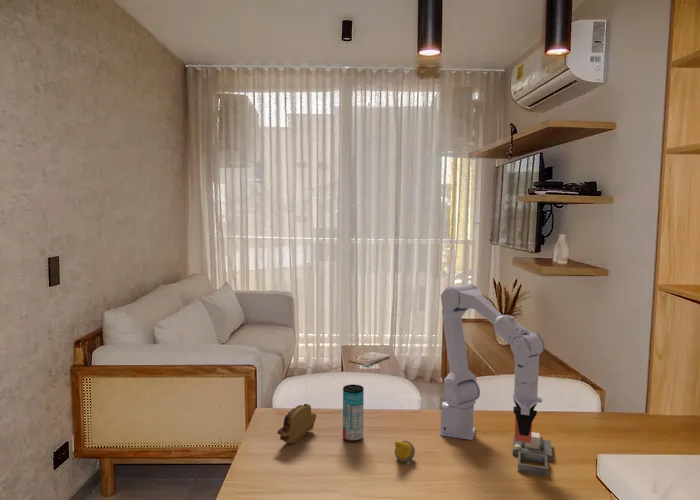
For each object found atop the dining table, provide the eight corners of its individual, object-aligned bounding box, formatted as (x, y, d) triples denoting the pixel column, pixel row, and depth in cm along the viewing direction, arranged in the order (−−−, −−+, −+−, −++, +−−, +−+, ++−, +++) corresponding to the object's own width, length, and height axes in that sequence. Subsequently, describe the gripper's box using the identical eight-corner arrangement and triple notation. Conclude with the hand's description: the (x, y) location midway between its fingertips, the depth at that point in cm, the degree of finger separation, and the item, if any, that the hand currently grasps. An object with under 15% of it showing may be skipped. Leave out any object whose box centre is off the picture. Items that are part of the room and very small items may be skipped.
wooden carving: (304, 426, 157) (304, 394, 156) (317, 429, 155) (317, 397, 154) (274, 450, 142) (273, 415, 141) (288, 453, 140) (288, 418, 139)
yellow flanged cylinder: (420, 462, 137) (406, 448, 130) (402, 468, 138) (387, 455, 131) (416, 443, 140) (402, 429, 134) (398, 449, 142) (384, 435, 135)
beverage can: (357, 432, 153) (357, 383, 152) (366, 440, 148) (367, 390, 146) (339, 435, 151) (339, 386, 149) (348, 444, 145) (348, 393, 144)
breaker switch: (525, 447, 141) (525, 435, 141) (525, 442, 144) (525, 431, 144) (539, 449, 140) (539, 437, 140) (539, 444, 143) (539, 433, 143)
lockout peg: (514, 440, 133) (515, 414, 132) (515, 434, 136) (516, 408, 136) (531, 443, 131) (532, 416, 131) (531, 436, 135) (532, 410, 134)
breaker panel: (512, 454, 140) (512, 446, 140) (513, 440, 149) (513, 432, 148) (552, 461, 137) (552, 452, 137) (550, 445, 145) (550, 438, 145)
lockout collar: (517, 471, 132) (517, 464, 131) (517, 458, 138) (518, 451, 138) (547, 476, 129) (547, 469, 129) (546, 462, 136) (546, 455, 136)
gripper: (543, 392, 124) (541, 446, 125) (542, 373, 138) (540, 422, 139) (512, 388, 126) (510, 441, 128) (514, 370, 140) (512, 418, 141)
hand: (524, 431), depth 134 cm, fingers closed on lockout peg, 4 cm apart
